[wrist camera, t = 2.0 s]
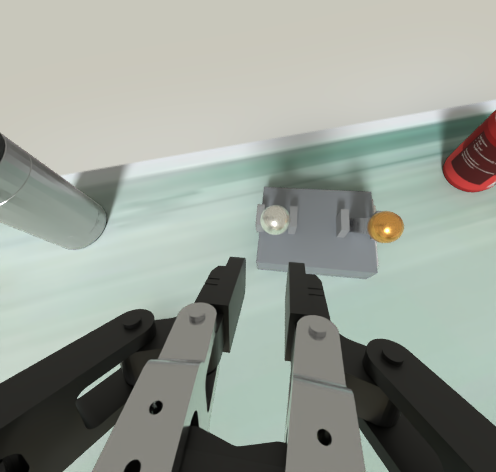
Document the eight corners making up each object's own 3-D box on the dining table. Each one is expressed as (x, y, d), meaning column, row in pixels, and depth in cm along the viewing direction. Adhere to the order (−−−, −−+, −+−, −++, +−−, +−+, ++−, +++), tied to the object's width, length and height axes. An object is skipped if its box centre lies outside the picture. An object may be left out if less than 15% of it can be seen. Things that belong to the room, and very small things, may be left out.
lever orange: (343, 236, 33) (372, 243, 23) (345, 213, 33) (376, 209, 22) (367, 237, 33) (408, 245, 22) (370, 214, 32) (412, 211, 22)
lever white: (264, 230, 35) (258, 234, 24) (266, 208, 34) (260, 203, 24) (287, 232, 34) (290, 237, 24) (288, 209, 34) (292, 204, 24)
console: (255, 269, 36) (251, 256, 30) (262, 199, 40) (260, 176, 34) (370, 279, 34) (392, 268, 28) (365, 205, 38) (383, 181, 32)
